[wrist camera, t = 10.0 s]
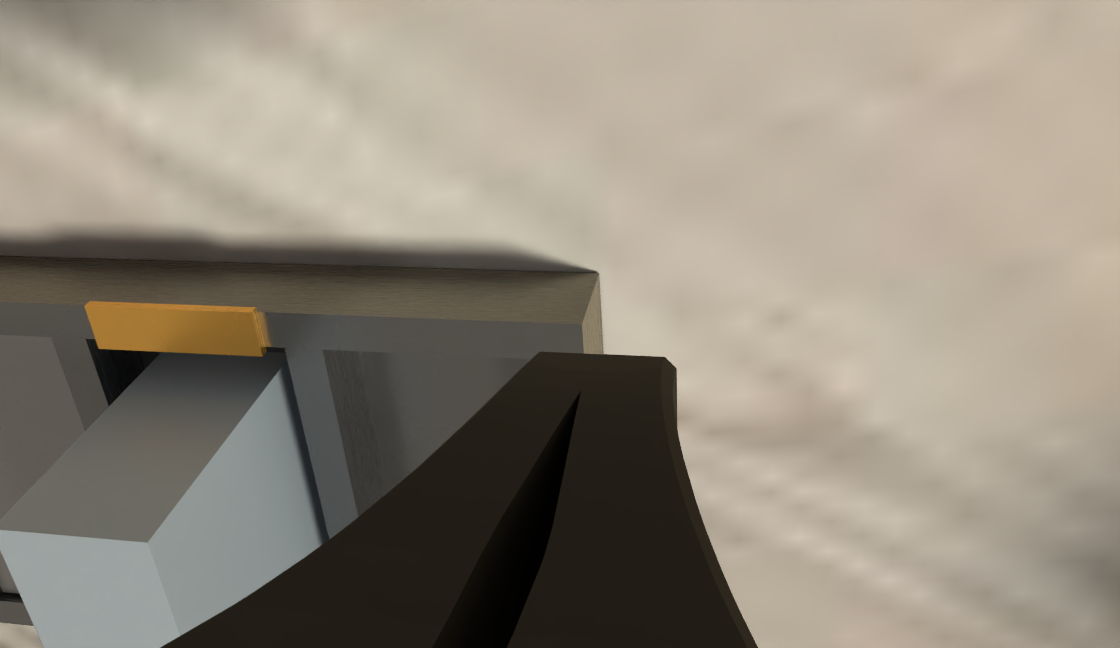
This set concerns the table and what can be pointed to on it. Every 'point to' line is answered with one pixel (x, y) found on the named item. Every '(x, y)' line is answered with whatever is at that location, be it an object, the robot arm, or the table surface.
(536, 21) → the table surface
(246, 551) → the block
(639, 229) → the table surface
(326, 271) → the rack
